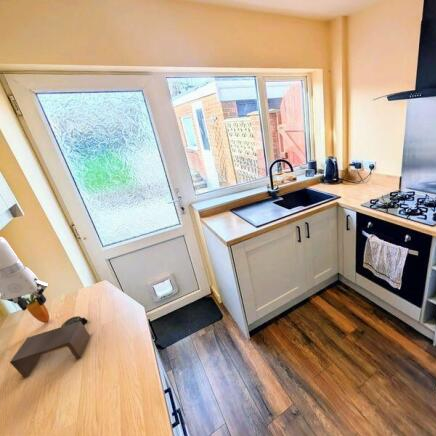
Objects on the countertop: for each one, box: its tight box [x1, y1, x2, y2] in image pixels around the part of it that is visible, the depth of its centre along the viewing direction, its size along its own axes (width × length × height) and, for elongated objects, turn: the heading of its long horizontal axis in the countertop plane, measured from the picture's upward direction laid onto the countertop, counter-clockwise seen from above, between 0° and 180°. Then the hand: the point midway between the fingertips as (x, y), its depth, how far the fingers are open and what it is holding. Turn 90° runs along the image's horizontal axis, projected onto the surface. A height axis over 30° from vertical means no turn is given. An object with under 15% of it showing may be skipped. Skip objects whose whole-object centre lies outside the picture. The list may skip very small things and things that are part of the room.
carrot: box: [22, 293, 50, 324], centre depth 100 cm, size 5×5×15 cm
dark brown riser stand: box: [9, 321, 91, 379], centre depth 86 cm, size 16×10×8 cm, turn 111°
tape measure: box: [60, 316, 88, 327], centre depth 98 cm, size 7×7×4 cm
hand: (34, 305), depth 99 cm, fingers closed on carrot, 4 cm apart
